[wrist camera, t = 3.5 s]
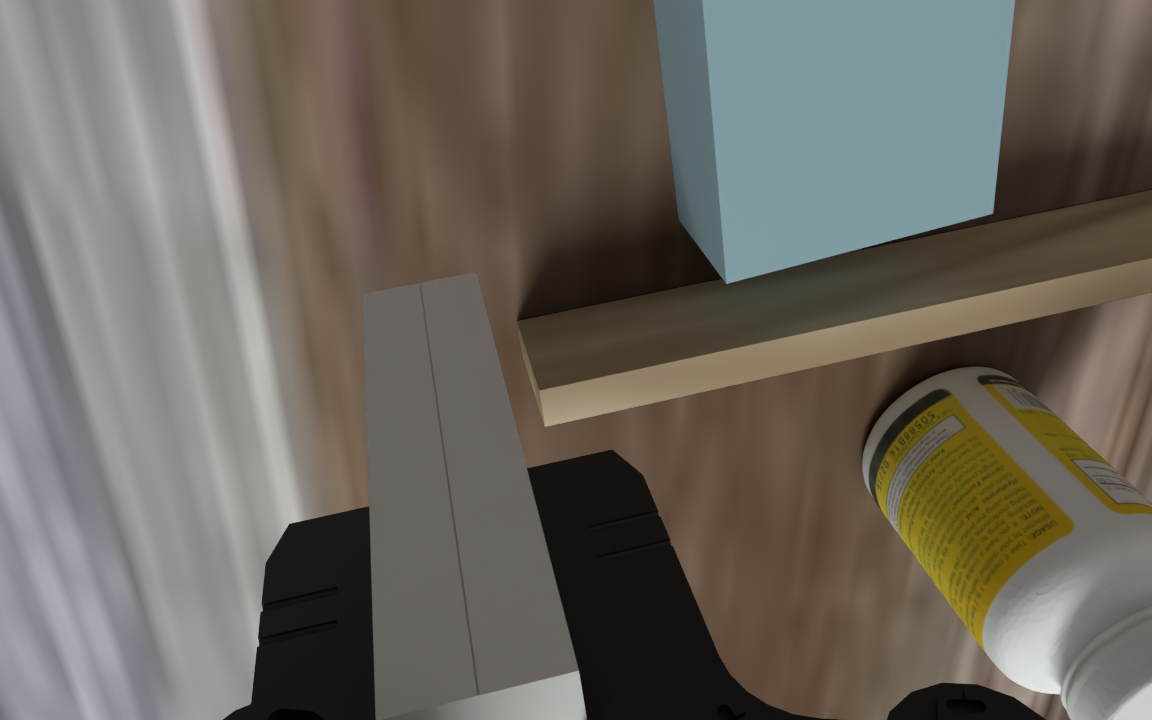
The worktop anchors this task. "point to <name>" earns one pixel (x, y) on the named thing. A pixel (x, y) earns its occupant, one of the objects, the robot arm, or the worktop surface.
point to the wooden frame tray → (836, 308)
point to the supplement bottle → (1023, 537)
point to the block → (829, 122)
